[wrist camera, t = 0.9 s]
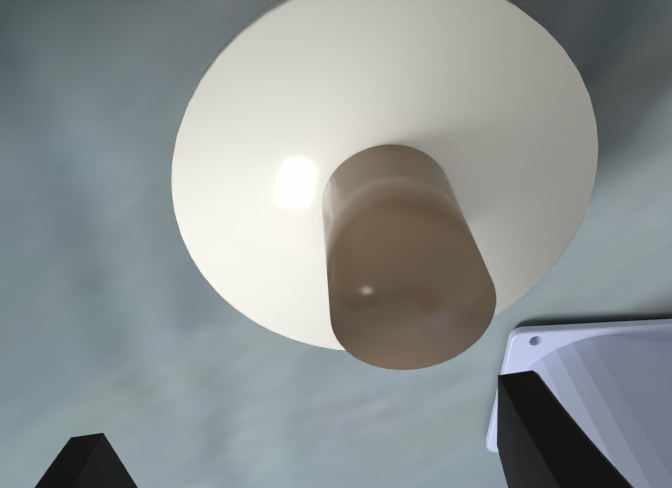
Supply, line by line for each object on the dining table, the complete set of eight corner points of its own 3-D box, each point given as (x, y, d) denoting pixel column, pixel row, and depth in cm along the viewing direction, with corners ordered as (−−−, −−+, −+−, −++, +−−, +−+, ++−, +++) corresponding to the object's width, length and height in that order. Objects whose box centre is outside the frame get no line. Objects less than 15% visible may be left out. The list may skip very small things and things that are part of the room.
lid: (636, -39, 12) (796, 23, 8) (541, 323, 18) (608, 457, 14) (136, -25, 12) (58, 48, 8) (209, 341, 18) (185, 484, 14)
